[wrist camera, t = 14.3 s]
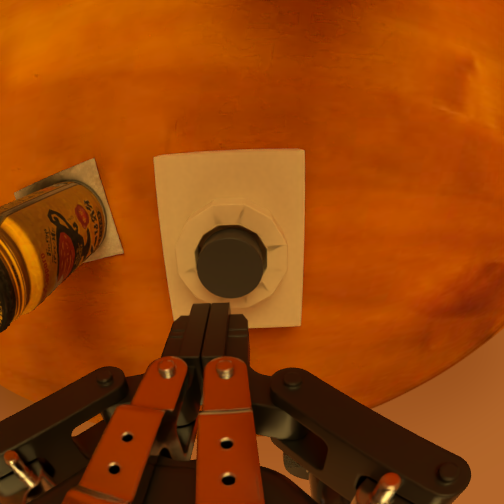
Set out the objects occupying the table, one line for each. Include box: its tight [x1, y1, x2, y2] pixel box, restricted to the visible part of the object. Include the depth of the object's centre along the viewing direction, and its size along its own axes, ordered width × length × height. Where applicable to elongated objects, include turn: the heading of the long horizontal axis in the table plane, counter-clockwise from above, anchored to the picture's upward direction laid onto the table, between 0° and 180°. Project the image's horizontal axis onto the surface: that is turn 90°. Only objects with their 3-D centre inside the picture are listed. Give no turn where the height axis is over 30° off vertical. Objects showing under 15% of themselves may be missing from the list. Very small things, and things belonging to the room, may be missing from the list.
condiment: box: [0, 158, 124, 333], centre depth 16 cm, size 7×8×12 cm
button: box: [197, 228, 263, 299], centre depth 18 cm, size 4×4×2 cm
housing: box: [154, 148, 305, 328], centre depth 21 cm, size 12×9×4 cm
